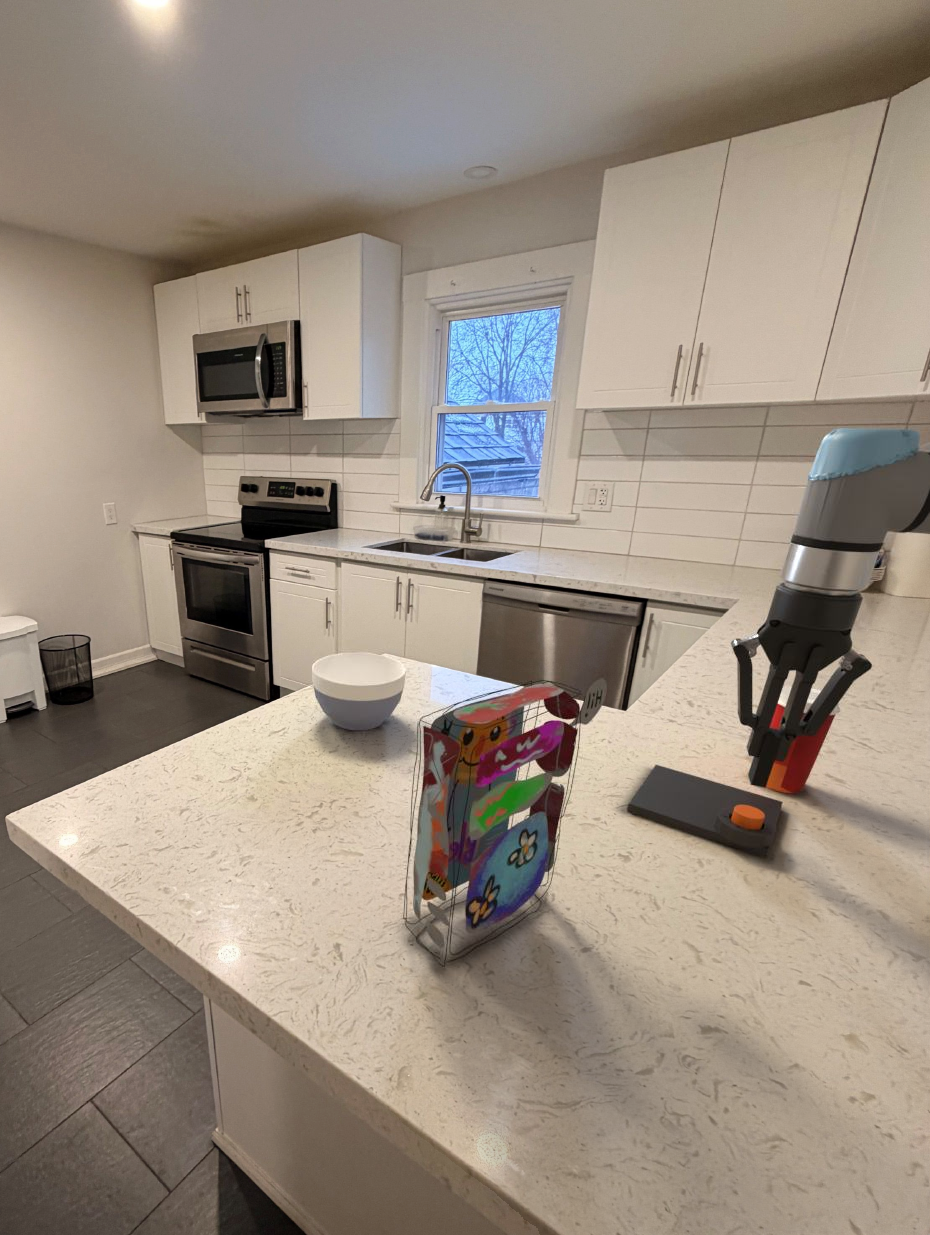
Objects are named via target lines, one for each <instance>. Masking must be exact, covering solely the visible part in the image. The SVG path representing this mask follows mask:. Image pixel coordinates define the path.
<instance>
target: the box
mask: <svg viewBox="0 0 930 1235" xmlns="http://www.w3.org/2000/svg"><path fill="white" fill-rule="evenodd" d="M540 682H542V683H540ZM535 683H536V684H535ZM546 683H550V684H553V685H555V686H553V685H550V684H546ZM526 685H529V686H526ZM561 685H562V686H561ZM522 686H523V687H522ZM563 686H565V687H567V688H565V687H563ZM520 687H522V688H520ZM516 688H520V689H519V690H516V691H514V692H511V693H505V694H502V695H498V696H494V697H490V698H486V699H482V698H485V697H488V696H490V695H492V694H497V693H501V692H504V691H508V690H511V689H512V690H513V689H516ZM568 688H570V689H572V690H570V689H568ZM565 690H566V691H568V692H570V693H573V694H576V695H574V696H572V695H571V694H569V693H568V692H566V691H565ZM573 690H575V691H576V692H575V691H573ZM607 690H608V686H607V681H606V680H605V678H604V677H601V678H598V679H596V680H595V681H594V682H592V684H591V685H590V687H589V688H588V690H587V691H586V694H584V699H583V702H582V705H581V706H580V703H578V701H577V700H576V699H575V698H577V697H578V696H579V695H580V696H583V694H582V690H580V689H578V688H575V687H572V686H569V685H567V684H564V683H561V682H556V681H552V680H547V679H546V680H545V679H541V680H536V681H533V680H532V679H531V680H528V681H527V682H525V683H522V684H520V685H517V686H512V687H508V688H504V689H500V690H495V691H491V692H487V693H483V694H480V695H476V696H472V697H470V698H467V699H465V700H462V701H458V702H456V703H454V704H451V705H448V706H446V707H445V708H444V707H443V708H442V709H441V708H440V709H439V710H436V711H433V712H430V713H429V714H427V715H423V716H422V717H420V718H419V719H417V720H418V723H417V727H416V730H417V731H416V754H415V762H414V767H413V775H412V785H411V786H412V787H411V798H410V800H411V802H410V819H411V820H410V824H409V825H410V828H409V830H410V839H409V845H408V856H407V868H406V876H405V877H406V878H405V886H404V896H405V897H404V900H403V913H402V914H403V916H402V919H403V920H404V921H405V922H404V923H405V924H404V925H405V926H404V927H406V928H407V929H408V931H409V932H410V933H411V934H412V935H413V936H414V938H415V941H416V942H417V943H418V944H419V945H420V946H421V947H422V948H424V949H425V950H426V951H427V952H429V953H430V955H431V956H432V957H433V959H434V961H436V962H437V963H438V965H440V966H441V967H442V968H445V967H446V962H448V963H450V962H454V961H456V960H458V959H461V958H463V957H465V956H467V955H468V954H470V953H471V952H473V950H475V949H477V948H478V947H480V946H482V945H485V944H487V943H489V942H491V941H493V940H495V939H497V938H498V937H499V936H501V935H502V934H503V933H504V932H506V931H507V930H509V929H511V928H514V927H515V926H516V925H518V924H519V923H521V922H522V921H523V920H524V919H526V918H527V917H529V915H532V914H534V913H536V912H538V911H539V909H540V908H541V906H542V901H541V900H542V898H543V897H544V896H545V894H546V893H547V892H548V890H549V889H550V887H551V884H552V882H553V876H554V872H555V871H554V870H555V865H556V862H557V857H558V851H559V843H560V837H561V835H560V834H561V831H562V830H561V826H562V825H561V824H562V818H563V817H564V815H565V812H566V811H567V810H566V809H567V806H568V803H569V800H570V796H571V794H572V789H573V784H574V783H573V782H574V779H575V778H574V777H575V772H576V766H577V762H578V756H579V751H580V750H579V749H580V740H581V739H580V738H581V724H582V725H585V726H586V725H588V724H590V723H591V722H592V721H593V719H594V718H595V717H596V716H597V714H598V713H599V711H600V710H601V708H602V706H603V704H604V702H605V700H606V696H607ZM477 699H478V701H474V700H477ZM479 699H482V700H479ZM471 701H473V702H471ZM541 701H543V705H540V703H541ZM465 702H470V703H467V704H465V705H462V706H459V707H456V706H458V705H459V704H463V703H465ZM537 702H538V703H537ZM535 703H537V704H538V706H536V707H531V705H532V704H535ZM525 706H528V708H527V709H526V710H525ZM455 707H456V708H455ZM544 707H545V709H546V711H544V712H541V713H539V708H544ZM453 708H454V709H453ZM446 709H447V710H446ZM451 709H452V710H451ZM535 709H536V710H537V711H536V715H534V716H532V717H530V718H528V715H529V711H531V710H535ZM444 710H446V711H444ZM441 711H444V712H443V713H442V715H439V716H438V717H437V718H435V719H434V720H433V722H432V723H430V722H427V721H424V720H422V719H423V718H425V717H429V716H431V715H433V714H436V713H439V712H441ZM525 713H526V715H525ZM546 713H549V714H550V715H552V716H553V717H555V718H558V719H560V720H555V719H554V720H553V719H552V720H548V721H546V722H545V721H544V723H543V724H541V725H540V726H537V727H536V725H537V721H538V717H539V716H542V715H543V714H546ZM524 715H525V719H524ZM534 718H535V721H534V722H535V723H534V727H533V728H532V729H530V730H527V731H525V727H526V722H528V721H530V720H531V719H534ZM562 720H568V721H569V720H572V722H570V723H567V722H565V721H562ZM421 722H423V723H424V724H427V725H429V726H430V727H428V726H427V725H422V728H421ZM577 725H579V726H578V727H577ZM421 729H423V730H421ZM422 732H423V736H422ZM577 736H578V744H577ZM422 737H423V774H422V785H421V786H422V788H421V792H420V794H421V795H420V800H419V807H418V812H417V813H418V814H417V829H416V830H417V833H416V844H415V850H414V856H413V870H412V871H413V897H412V908H413V912H414V916H416V918H417V919H418V921H416V922H415V923H413V922H409V921H408V920H407V918H408V874H409V864H410V858H411V850H412V842H413V841H412V838H413V837H412V834H413V826H414V817H415V808H416V803H417V796H418V789H419V781H420V780H419V779H420V770H421V760H422V744H421V743H422V742H421V741H422V739H421V738H422ZM576 745H577V751H576V757H575V763H574V769H573V775H572V778H571V779H572V780H571V784H570V777H571V771H572V766H573V760H574V755H575V748H576ZM418 750H419V751H418ZM418 752H419V764H418V774H417V783H416V792H415V797H414V785H415V784H414V783H415V771H416V767H417V762H418ZM533 761H535V763H536V764H537V766H538V767H539V768H540V769H541V770H542V771H543V772H542V773H540V774H537V775H534V776H532V777H529V778H528V774H529V770H530V766H531V762H533ZM526 764H528V768H527V772H526V775H525V776H526V777H525V779H524V780H523V779H522V780H521V779H520V780H519V775H520V769H521V767H523V766H524V765H526ZM568 771H569V773H568ZM567 773H568V780H567V786H566V792H565V786H564V785H563V784H560V783H559V784H557V783H555V782H553V777H555V778H560V777H564V776H565V775H566V774H567ZM569 784H570V790H569ZM568 790H569V791H570V792H569V794H568ZM567 795H568V798H567ZM413 797H414V798H415V799H414V798H413ZM566 798H567V800H566ZM413 799H414V805H413ZM528 809H529V814H527V815H525V816H524V819H523V820H520V822H517V823H516V824H514V825H513V822H514V815H516V814H519V813H523V812H524V811H526V810H528ZM510 817H511V818H512V819H511V825H510V828H509V824H510ZM557 833H558V834H557ZM556 843H557V845H556ZM555 850H556V851H555ZM551 870H552V873H551V878H549V874H550V871H551ZM546 873H547V881H546V883H544V884H543V885H541V884H542V882H543V880H544V876H545V875H546ZM549 879H550V882H549ZM466 883H468V886H466V887H464V888H462V889H461V890H460V891H459V892H457V888H458V887H460V886H461V885H464V884H466ZM548 883H549V885H548V887H547V889H546V890H545V892H544V893H543V894H542V895H541V896H540V898H539V896H537V895H536V893H537V891H538V890H539V889H540V888H539V887H544V886H546V885H547V884H548ZM466 889H467V891H466V892H467V893H466V899H465V900H463V901H460V902H456V897H457V896H458V895H460V894H461V893H462V892H463V891H464V890H466ZM450 891H452V892H451V898H450V899H448V900H447V894H446V893H448V892H450ZM533 896H535V897H536V899H537V900H536V901H535V902H533V904H532V905H530V906H529V907H528V908H526V909H525V910H524V911H523V912H522V913H520V914H519V915H518V916H516V917H514V918H513V919H511V920H509V921H508V922H506V923H505V924H503V925H500V926H499V927H498V928H496V929H495V930H493V931H491V932H490V933H489V934H487V935H486V936H484V937H483V938H481V939H480V940H478V941H476V942H473V943H472V944H470V945H468V946H466V947H465V948H463V949H462V950H460V951H458V952H456V953H452V952H451V943H452V932H453V920H454V911H455V906H457V905H459V904H461V903H462V904H463V903H464V902H465V909H464V910H465V911H464V912H465V913H464V914H465V915H464V916H465V932H466V933H467V935H472V934H476V933H479V932H482V931H486V930H488V929H490V928H492V927H494V926H495V925H497V924H499V923H500V922H502V921H504V920H506V919H507V918H509V917H511V916H513V915H514V913H516V912H517V911H518V910H519V909H520V908H521V907H523V906H524V905H525V904H526V903H527V902H528V901H530V900H531V898H532V897H533ZM436 898H438V899H439V900H441V901H442V903H441V904H440V905H439V906H437V905H436V904H434V903H432V902H431V901H430V900H433V899H436ZM422 900H424V901H427V902H426V903H427V904H426V905H427V908H428V911H429V912H430V913H429V914H426V915H425V916H423V917H421V913H422V912H421V911H422V910H421V904H422ZM448 902H450V905H449V906H448V907H446V908H444V909H443V910H442V909H441V908H440V907H441V906H443V905H444V904H445V903H448ZM538 902H539V903H540V904H539V905H538V908H537V909H536V910H534V911H532V912H530V913H527V914H526V915H525V916H524V917H522V918H521V919H520V920H518V922H516V923H515V924H513V925H511V926H509V927H508V928H506V929H504V930H503V931H502V932H500V933H499V934H498V935H496V936H495V937H492V938H491V939H489V940H487V941H484V942H482V941H483V940H485V939H487V938H488V937H489V936H491V935H492V934H493V933H495V932H496V931H498V930H499V929H501V928H503V927H504V926H507V925H508V924H510V923H511V922H513V921H515V920H517V919H518V918H519V917H521V916H522V915H523V914H525V913H526V912H528V910H529V909H531V908H532V907H533V906H535V905H536V904H537V903H538ZM449 908H450V909H449ZM448 909H449V910H450V911H449V919H448V917H447V915H446V913H445V912H444V911H446V910H448ZM430 915H433V916H434V919H432V920H431V921H429V920H428V921H427V922H426V925H425V927H424V928H423V929H422V930H421V931H420V932H419V933H418V934H417V935H415V934H414V933H413V931H412V930H411V929H410V928H409V927H408V926H407V923H408V924H410V925H416V924H418V923H419V922H421V921H422V920H423V919H425V918H426V917H428V916H430ZM436 919H438V920H439V921H440V922H441V923H442V924H443V925H444V926H447V927H448V928H447V937H446V938H447V939H446V940H445V937H444V934H443V933H442V931H441V930H440V929H439V928H438V927H437V926H435V925H434V924H433V922H434V921H435V920H436ZM424 930H426V933H427V935H428V936H429V938H430V939H431V941H432V942H433V943H434V944H435V945H436V946H437V947H438V948H440V949H444V948H445V956H444V957H445V958H444V960H442V959H441V958H440V957H439V956H437V955H436V954H435V953H433V951H431V950H429V948H428V947H427V946H426V945H425V944H424V943H423V942H422V941H421V940H420V939H419V938H418V937H419V935H420V934H422V932H423V931H424ZM449 935H450V936H449ZM445 941H446V942H445ZM480 942H482V943H480ZM448 943H449V946H448ZM478 943H480V944H478ZM476 944H478V945H476ZM474 945H476V946H475V947H473V948H471V950H469V951H468V952H467V953H465V954H463V955H461V956H459V957H456V958H453V959H451V960H447V952H448V950H449V953H450V955H451V956H457V955H458V954H459V955H460V954H461V953H462V952H464V951H465V950H466V949H468V948H470V947H472V946H474ZM445 946H446V947H445ZM448 947H449V948H448ZM438 960H440V962H441V961H442V962H443V964H441V963H440V962H439V961H438ZM446 960H447V961H446Z"/></svg>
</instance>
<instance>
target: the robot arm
mask: <svg viewBox="0 0 930 1235" xmlns="http://www.w3.org/2000/svg"><path fill="white" fill-rule="evenodd" d="M920 440H921V435H920V432H919V431H918V430H916V429H911V428H910V429H909V428H908V429H907V428H906V429H905V428H904V429H903V428H867V427H866V428H864V427H863V428H861V427H860V428H859V427H857V428H856V427H840V428H836V429H833V430H831V431H830V432H829V433H827V434H826V435H825V436H824V437H823V439H822V440H821V443H820V446H819V448H818V450H817V452H816V455H815V458H814V461H813V462H812V467H811V469H810V472H809V473H808V475H807V477H806V479H807V482H806V486H805V490H804V493H803V496H802V501H801V503H800V508H799V511H798V512H799V513H798V516H797V519H796V523H795V526H794V530H793V533H792V536H791V539H790V542H789V545H788V548H787V551H786V555H785V558H784V562H783V564H782V567H781V571H780V574H779V578H780V579H781V580H782V581H783V582H781V583H779V584H778V585H776V587H775V590H774V594H773V596H772V599H771V603H770V607H769V610H768V614H767V615H766V616H767V617H766V620H765V621H764V623H763V624H762V625H761V626H760V627H759V628H758V629H757V631H756V634H754V635H752V636H748V637H746V638H743V639H741V638H734V639H732V640H731V642H730V646H731V648H732V651H733V653H734V655H735V658H736V661H737V664H736V665H737V666H736V667H737V668H736V670H737V716H738V720H739V723H740V724H741V726H742V725H743V726H747V727H749V728H751V730H750V734H749V737H748V740H747V744H746V751H747V754H748V757H753V758H752V761H751V763H750V768H749V770H748V773H747V776H748V780H749V783H750V785H751V786H755V787H758V788H759V787H760V788H765V789H766V788H767V787H766V785H767V782H768V779H769V776H770V773H771V770H772V767H773V764H774V761H780V762H783V761H784V760H785V759H786V757H787V755H788V752H789V749H790V746H791V743H792V741H794V740H795V739H796V738H797V736H802V735H806V736H809V737H810V736H814V735H815V734H816V733H817V732H818V730H819V729H820V728H821V726H822V725H823V723H824V722H825V721H826V719H827V718H828V717H829V715H830V714H831V712H832V711H833V710H834V708H835V707H836V705H837V704H839V703H840V701H841V700H842V698H843V697H844V696H845V695H846V693H847V692H848V690H849V689H850V687H851V686H852V685H853V684H854V683H855V681H856V680H857V679H859V678H860V677H862V676H864V675H865V674H866V673H867V672H869V671H870V670H872V668H873V664H872V662H871V661H870V660H869V659H868V658H867V657H866V656H865V655H864V654H862V653H858V652H857V651H856V650H854V649H853V640H852V636H851V633H852V630H853V628H854V625H855V622H856V619H857V617H858V614H859V611H860V608H861V606H862V602H863V600H864V597H863V595H862V594H861V593H860V592H861V591H863V590H865V589H867V588H868V586H869V583H870V581H871V578H872V575H873V571H874V568H875V566H876V563H877V561H878V560H877V559H878V557H879V554H880V552H881V550H882V547H883V544H884V540H885V538H886V536H887V534H888V532H889V533H890V532H891V533H897V534H905V533H912V534H925V535H930V442H926V443H925V444H921V445H919V443H920ZM759 646H761V648H762V650H763V652H764V654H765V655H766V658H767V659H768V661H769V663H770V664H769V667H768V674H767V677H766V680H765V682H764V683H765V684H764V687H763V689H762V693H761V695H760V699H759V702H758V705H757V709H756V711H755V713H753V668H754V667H753V661H752V658H754V657H755V656H756V655H757V653H758V651H757V650H758V648H759ZM839 659H840V660H839ZM837 660H839V661H838V667H837V669H835V671H834V672H833V673H832V675H830V676H831V677H830V678H829V679H828V681H827V682H826V683H825V685H823V688H822V689H821V692H820V694H819V695H818V696H817V698H816V699H815V701H814V702H813V704H812V705H811V706H810V708H809V709H808V711H807V712H806V714H805V715H804V716H803V718H802V715H803V712H804V709H805V706H806V703H807V700H808V697H809V694H810V691H811V688H813V685H814V684H816V681H817V678H818V675H819V673H820V672H821V671H822V670H824V669H825V668H827V667H828V666H830V665H831V664H833V663H834V662H837ZM791 671H795V675H794V678H793V682H792V685H791V686H792V688H791V691H790V694H789V697H788V700H787V703H786V706H785V709H784V713H783V716H782V719H781V722H780V729H779V730H778V729H774V728H770V725H771V722H772V719H773V716H774V713H775V710H776V707H777V704H778V701H779V698H780V694H781V691H782V688H783V687H784V686H785V682H786V680H787V679H788V678H789V674H790V672H791ZM801 718H802V719H801Z"/></svg>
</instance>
